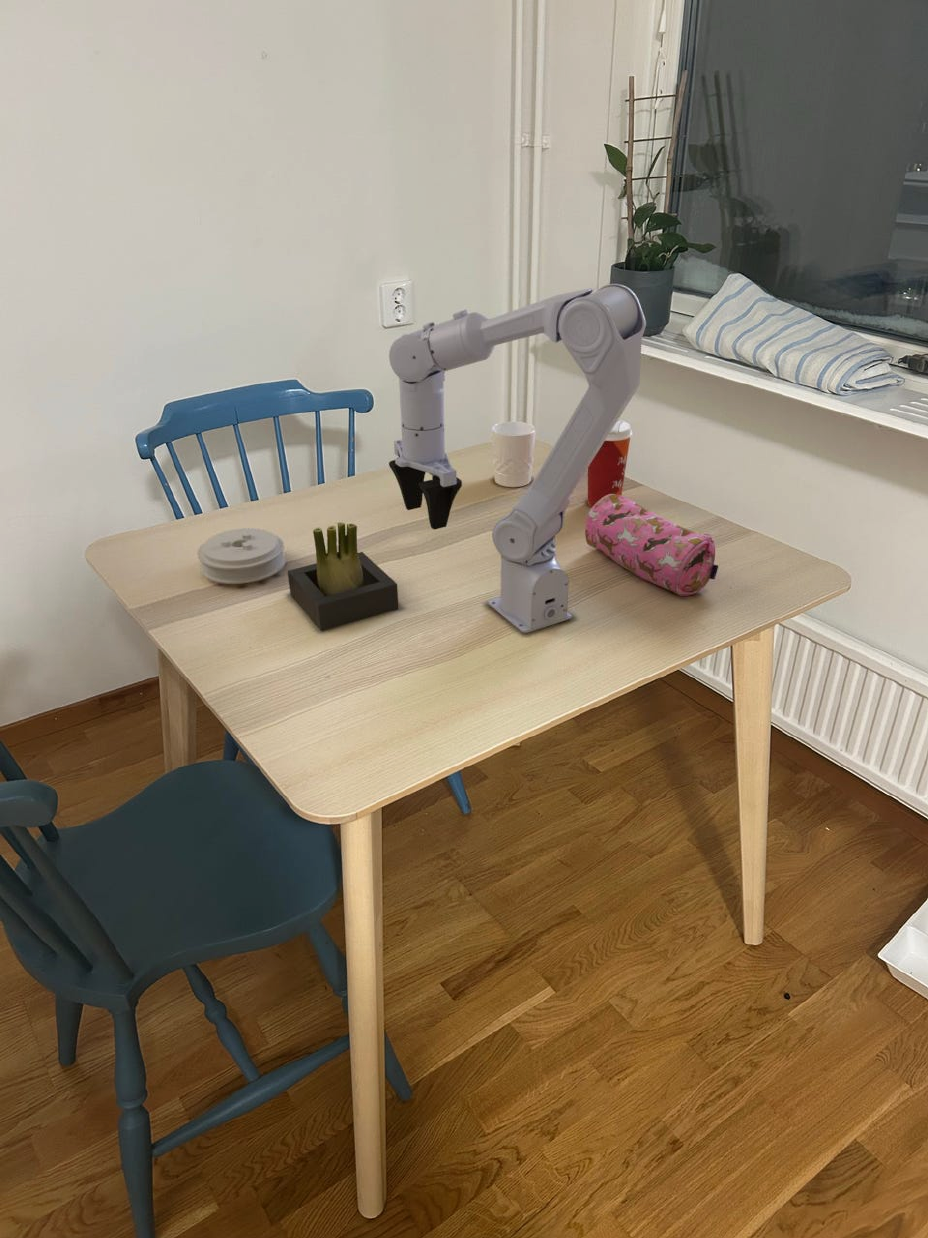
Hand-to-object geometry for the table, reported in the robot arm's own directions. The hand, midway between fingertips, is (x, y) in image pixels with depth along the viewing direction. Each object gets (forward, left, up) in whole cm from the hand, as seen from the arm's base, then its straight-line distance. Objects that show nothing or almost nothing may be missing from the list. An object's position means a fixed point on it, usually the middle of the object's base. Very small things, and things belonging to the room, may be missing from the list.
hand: (425, 517), depth 125 cm
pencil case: (-13, -30, -11) cm, 34 cm away
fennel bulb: (+1, +13, -11) cm, 17 cm away
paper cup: (+10, -40, -11) cm, 43 cm away
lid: (+18, +22, -11) cm, 30 cm away
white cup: (+27, -32, -11) cm, 43 cm away
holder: (+1, +13, -10) cm, 17 cm away
